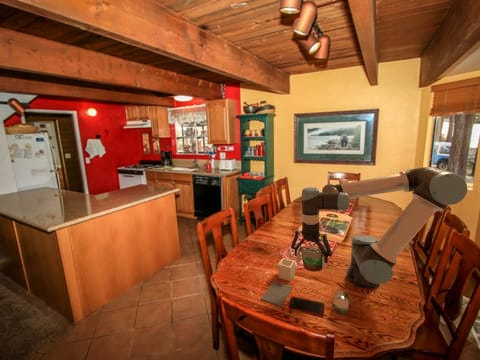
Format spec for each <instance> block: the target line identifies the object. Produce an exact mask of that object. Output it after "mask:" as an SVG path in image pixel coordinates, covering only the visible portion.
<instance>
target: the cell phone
mask: <svg viewBox="0 0 480 360" xmlns="http://www.w3.org/2000/svg"><path fill="white" fill-rule="evenodd" d="M288 309H289V310H292V311H295V312H296V311H297V312H300V313H304V314H308V315H312V316H313V315H314V316H318V317H321V318H323V317H324V315H325V303H324V302H320V301H315V300H311V299H306V298H301V297H296V296H291V297H290V300H289V305H288Z"/></svg>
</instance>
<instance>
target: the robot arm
mask: <svg viewBox="0 0 480 360" xmlns="http://www.w3.org/2000/svg"><path fill="white" fill-rule="evenodd" d="M400 191H403V192H404V193H411V192H412V193H411V194H412V200H411V201H410V202H409V203H408V204H407V205H406V206H405V208H404V209H403V210H402V211H401V213H400V214H399V215H398V217H397V218H396V219H395V220H394V221H393V223H392V224H391V225H390V226H389V227H388V229H387V230H386V231H385V232H384V234H383V235H382V236H381V237H380V238H379V239H377V237H376V238H375V237H374V236H370V235H361V234H358V235H354V236H353V237H352V239H351V242H350V243H351V251H350V253H351V254H350V255H351V257H350V264H349V266H348V268H347V271H346V279H347V281H348V282H349V283H351V284H352V285H353V286H355V287H358V288H360V289H364V290H365V289H366V290H373V289H374V290H375V289H377V288H378V287H379V286H380V285H382V284H386V283H388V282H389V281H391V279H393V275H394V271H393V268H394V267H395V266H396V265H397V263H398V258H397V257H398V255H399V254H400V253H401V252H402V251H403V250H404V249H405V248H406V247H407V245H408V244H409V243H410V242H411V241H412V240H413V238H415V236H416V235H417V234H418V233H419V232H420V231H421V229H423V227H424V226H425V225H426V223H428V222H429V220H430V219H431V218H432V217H433V215H435V213H436V212H440V211H441V212H442V211H445V210H446V208H448V206H451V205H457V204H458V203H460V202H462V201H463V200H464V199H465V198H466V196H467V194H468V185H467V182H466V180H465V179H464V177H463V176H461V175H460V174H457V173H455V172H453V171H450V170H445V169H441V168H438V167H435V166H424V167H417V168H412V169H411V168H410V169H407V170H401V171H400V172H399V173H396V174H391V175H385V176H379V177H375V178H367V179H363V180H356V181H351V182H345V183H340V184H339V183H338V184H331V183H328V184H325V185H324V186H323V187H322V189H321V192H320V189H319V188H317V187H305V188H303V189H302V191H301V230H300V229H299V228H297V229H296V230H295V231H294V235H295V236H294V238H293V240H292V243H291V246H290V249H291V250H294V256H295V257H296V264H298V265H299V264H300V262H301V252H300V246H301V247H302V245H303V243H304V242H305V241H306V242H311V243H315V244H316V246H317V247H318V249H320V250H321V252H322V253H323V266H322V270H321V271H325V269H326V264H327V263H328V262H329V257H332V255H333V251H332V249H331V246H330V243H329V241H328V236H327V233H320V210H321V211H323V210H324V211H330V210H331V211H347V210H348V209H349V208H350V199H355V198H362V197H367V196H376V195H382V194H389V193H395V192H400ZM300 235H302V237H303V238H301V240H300V241H299V242H298V244H297V245H296V243H297V241H298V239H299V236H300ZM320 238H321V239H320ZM321 240H322V242H323V244H324V245H323V244H322V242H321ZM325 248H326V249H325Z"/></svg>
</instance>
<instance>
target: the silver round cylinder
mask: <svg viewBox="0 0 480 360" xmlns="http://www.w3.org/2000/svg"><path fill="white" fill-rule="evenodd" d="M350 302H351V296H350V294H349V293H348V292H347V291H344V290H338V291H336V293H335V296H334V299H333V302H332V305H331V307H332V310H333V311H334V313H335V314H336V315H338V316H339V315H340V316H345V315H347V314H348V311H349V307H350Z"/></svg>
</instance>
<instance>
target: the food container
mask: <svg viewBox="0 0 480 360" xmlns="http://www.w3.org/2000/svg"><path fill="white" fill-rule="evenodd" d="M324 248H325V247H324ZM299 249H300V254H301V257H302V258H301V259H302V265H303V267H304V269H306V270H307V271H310V272H320V271H323V270H322V266H323V253H322V252H321V250H320V249H319V248H315V247H304V246H302V245H301V246H300V247H299ZM325 249H326V248H325Z"/></svg>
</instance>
